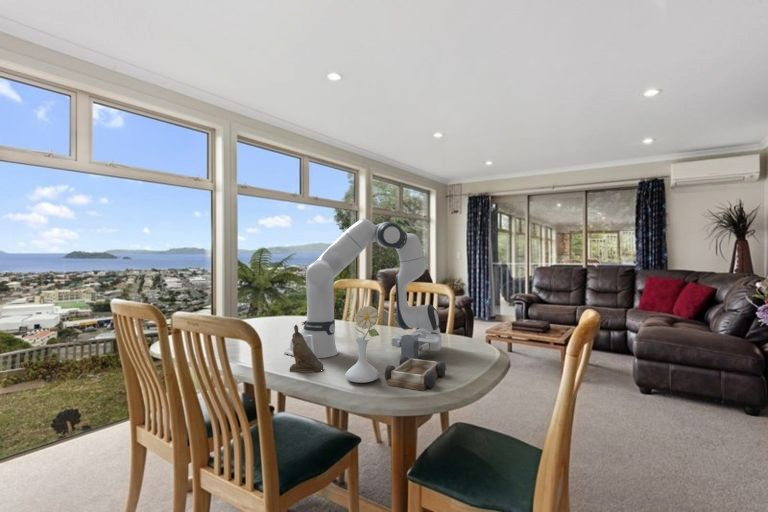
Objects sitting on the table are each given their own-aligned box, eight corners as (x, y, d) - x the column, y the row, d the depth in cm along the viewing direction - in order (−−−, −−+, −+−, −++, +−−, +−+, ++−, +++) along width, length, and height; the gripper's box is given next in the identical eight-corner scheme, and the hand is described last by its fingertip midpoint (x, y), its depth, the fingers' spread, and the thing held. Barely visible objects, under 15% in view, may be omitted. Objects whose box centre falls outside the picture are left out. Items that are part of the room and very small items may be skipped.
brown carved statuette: (289, 378, 133) (278, 329, 133) (294, 373, 139) (284, 326, 139) (321, 372, 132) (311, 322, 132) (325, 367, 138) (315, 319, 138)
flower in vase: (337, 380, 124) (338, 304, 124) (362, 372, 132) (362, 301, 132) (366, 390, 115) (366, 308, 115) (390, 380, 124) (390, 304, 124)
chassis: (382, 384, 120) (382, 368, 120) (406, 367, 138) (406, 353, 138) (428, 391, 114) (428, 375, 114) (446, 373, 132) (446, 358, 132)
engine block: (401, 363, 144) (401, 337, 144) (406, 359, 149) (406, 334, 148) (413, 364, 142) (413, 338, 142) (418, 361, 146) (418, 335, 146)
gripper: (398, 329, 162) (384, 336, 149) (444, 334, 153) (434, 341, 141) (398, 344, 162) (384, 352, 149) (444, 349, 153) (434, 358, 141)
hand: (409, 346), depth 145 cm, fingers open, 8 cm apart
